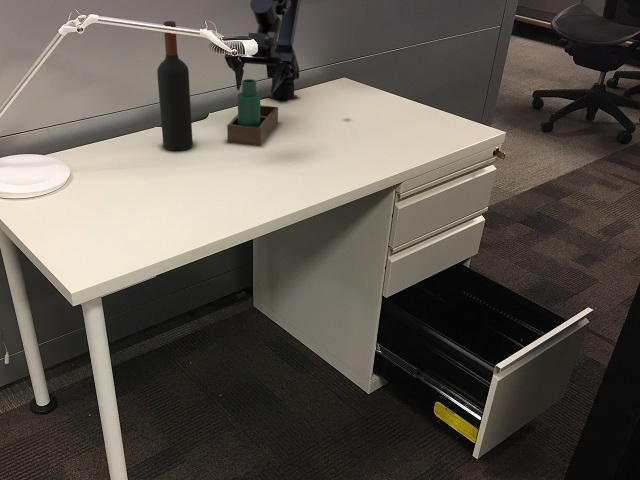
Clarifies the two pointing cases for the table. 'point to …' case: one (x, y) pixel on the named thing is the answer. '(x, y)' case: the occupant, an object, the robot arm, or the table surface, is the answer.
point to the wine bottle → (174, 97)
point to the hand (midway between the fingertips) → (254, 91)
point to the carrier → (253, 128)
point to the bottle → (249, 104)
